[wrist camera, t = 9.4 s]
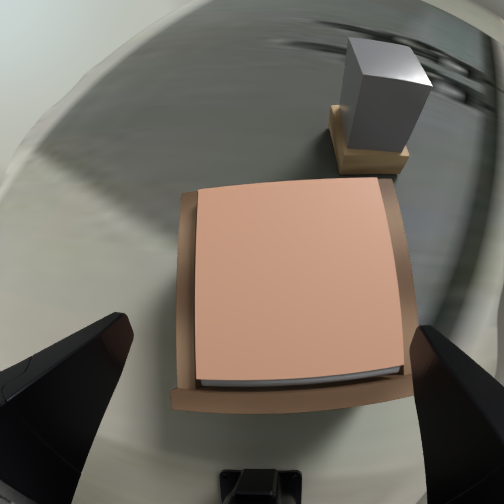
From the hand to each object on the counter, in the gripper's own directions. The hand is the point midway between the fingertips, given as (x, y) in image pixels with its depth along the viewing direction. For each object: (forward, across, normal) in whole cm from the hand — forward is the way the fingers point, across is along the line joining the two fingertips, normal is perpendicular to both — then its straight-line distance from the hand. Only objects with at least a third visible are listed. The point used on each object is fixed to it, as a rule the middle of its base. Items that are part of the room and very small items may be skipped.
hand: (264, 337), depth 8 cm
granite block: (+20, -7, -5) cm, 22 cm away
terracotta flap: (+7, -1, +2) cm, 7 cm away
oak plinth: (+22, -7, -3) cm, 23 cm away
